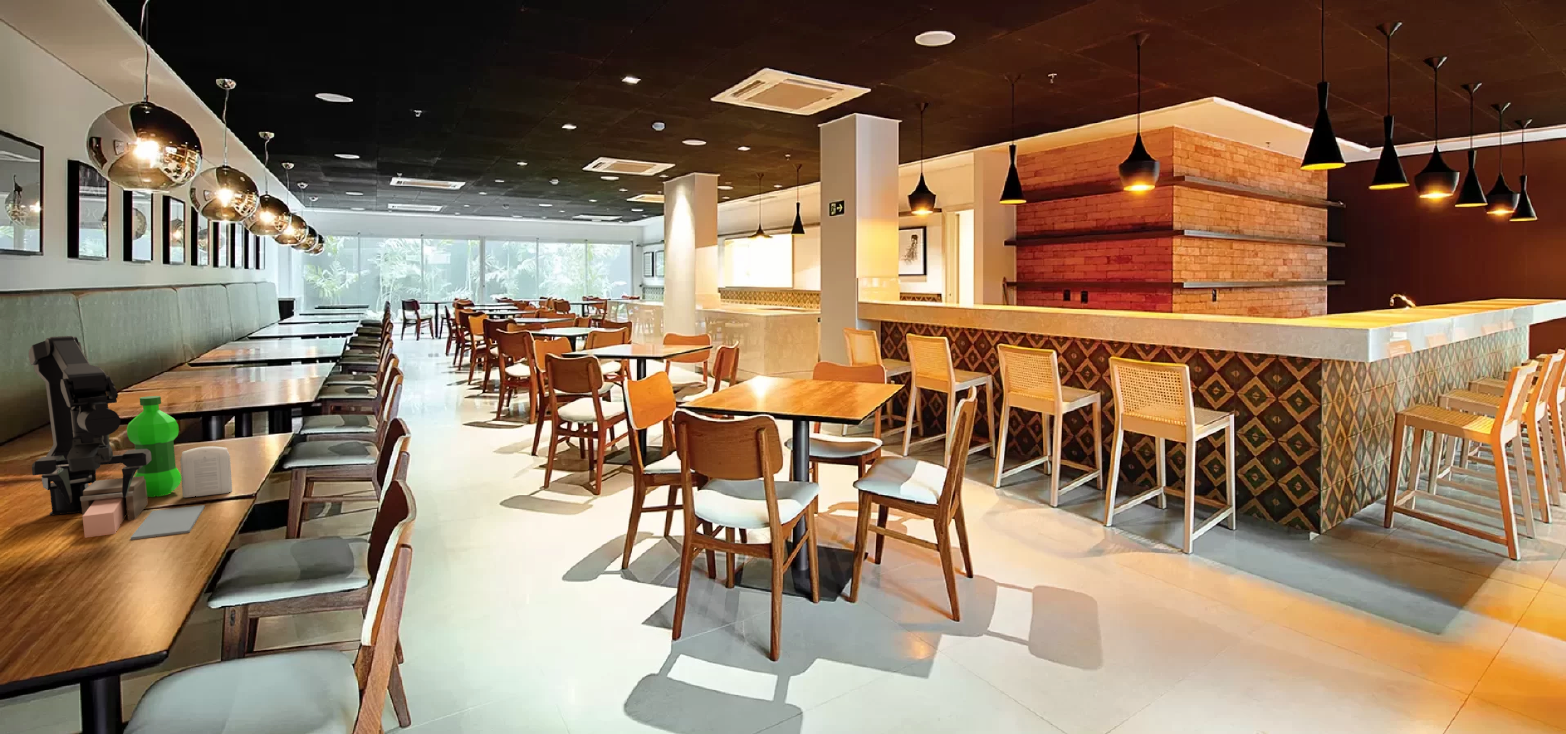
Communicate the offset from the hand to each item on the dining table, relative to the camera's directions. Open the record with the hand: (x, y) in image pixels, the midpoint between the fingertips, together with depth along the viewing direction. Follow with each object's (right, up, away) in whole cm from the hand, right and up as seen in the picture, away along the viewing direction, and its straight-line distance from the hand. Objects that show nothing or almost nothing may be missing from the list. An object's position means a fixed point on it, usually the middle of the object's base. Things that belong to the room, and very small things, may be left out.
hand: (97, 500), depth 169 cm
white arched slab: (+2, -4, +29) cm, 30 cm away
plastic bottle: (-10, -4, +29) cm, 31 cm away
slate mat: (+10, -6, +7) cm, 14 cm away
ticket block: (-2, -7, +5) cm, 9 cm away
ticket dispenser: (-6, -6, +12) cm, 15 cm away
